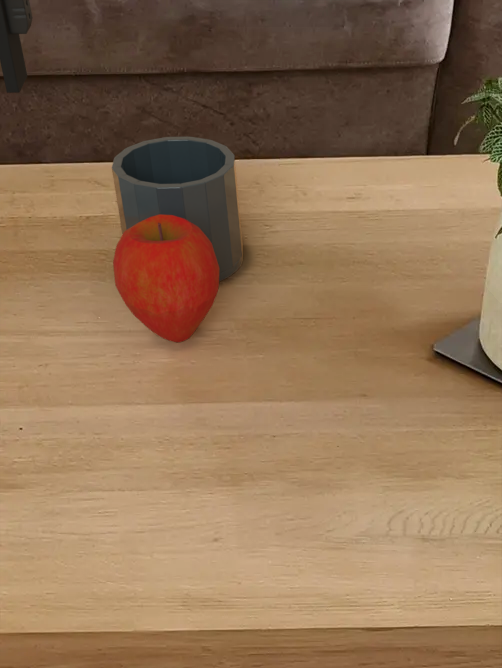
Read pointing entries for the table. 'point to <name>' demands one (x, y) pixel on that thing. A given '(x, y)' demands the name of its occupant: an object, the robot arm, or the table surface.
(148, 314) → the apple
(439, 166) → the table surface
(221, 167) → the dark gray cup
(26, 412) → the table surface
